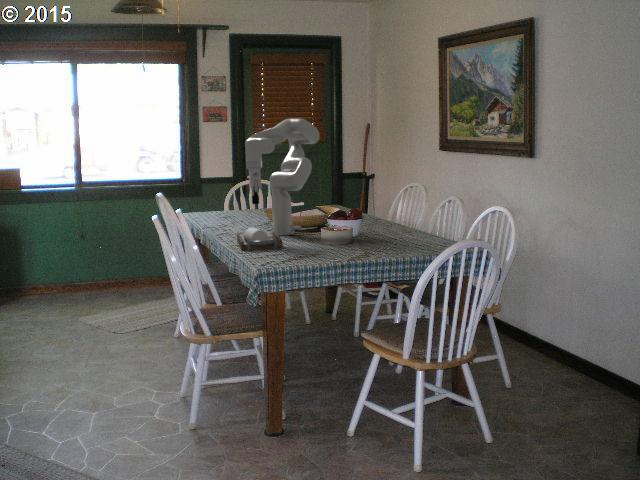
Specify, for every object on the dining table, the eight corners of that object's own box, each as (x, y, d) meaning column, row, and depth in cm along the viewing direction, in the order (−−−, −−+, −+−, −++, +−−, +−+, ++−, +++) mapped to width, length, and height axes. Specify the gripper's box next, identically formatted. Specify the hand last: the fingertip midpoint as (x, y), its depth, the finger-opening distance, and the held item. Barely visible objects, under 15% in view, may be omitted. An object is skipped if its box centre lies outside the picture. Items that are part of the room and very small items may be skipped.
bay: (275, 239, 375) (274, 230, 374) (283, 249, 345) (282, 240, 345) (237, 241, 371) (236, 232, 371) (241, 251, 342) (241, 241, 341)
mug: (252, 248, 352) (251, 230, 350) (243, 245, 360) (243, 228, 359) (276, 245, 357) (275, 228, 356) (267, 242, 366) (267, 226, 364)
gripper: (263, 166, 359) (265, 205, 363) (260, 163, 374) (261, 201, 377) (247, 166, 358) (249, 206, 361) (244, 164, 373) (246, 202, 376)
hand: (255, 203), depth 369 cm, fingers closed
